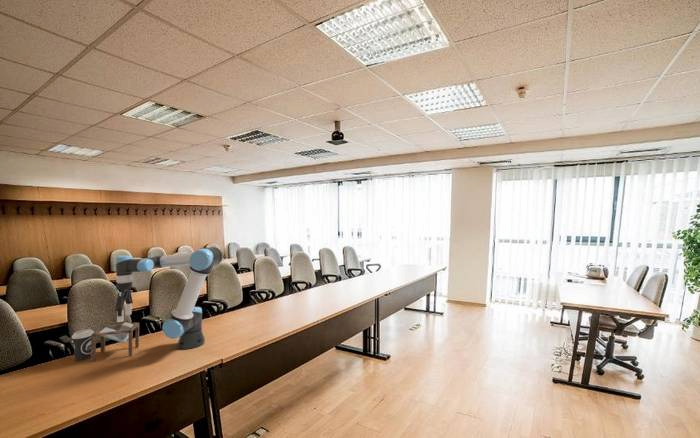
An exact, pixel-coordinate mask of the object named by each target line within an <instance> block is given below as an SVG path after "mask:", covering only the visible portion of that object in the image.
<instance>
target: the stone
mask: <svg viewBox="0 0 700 438" xmlns="http://www.w3.org/2000/svg"><path fill="white" fill-rule="evenodd" d="M132 326H133V324H130V322H126V321H125V322H123V323H122V326H121V327H119V329H118V331H121V330H130V329H131V327H132ZM128 335H129V333H120V334H116V337H119V338H123V339H125V338H126V337H127V336H128Z"/></svg>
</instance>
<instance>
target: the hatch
mask: <svg viewBox="0 0 700 438" xmlns="http://www.w3.org/2000/svg"><path fill="white" fill-rule="evenodd" d="M112 331H117V330H116V329H114V328H107V327H105V328H104V329H102V330H101V331H100V332H99V333H103V332H112ZM103 337H105V339H106V338H107V339H110V340H113V341H116V342H119V343H122V344H125V343H126V342H127V341H129V334H128V336H127V337H126V338H125V339H123V338H119V337H116V334H112V335H103Z"/></svg>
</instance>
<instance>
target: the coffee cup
mask: <svg viewBox="0 0 700 438" xmlns="http://www.w3.org/2000/svg"><path fill="white" fill-rule="evenodd" d="M94 332H95V331H93V329H91V328H89V329H88V328H87V329H81V330H78V331H76V332H73V334H72V336H71V339H72V344H73V355H74V361H75V362H82V361H86V360H88V359H91V335H92V334H93V333H94Z"/></svg>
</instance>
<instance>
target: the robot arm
mask: <svg viewBox="0 0 700 438" xmlns="http://www.w3.org/2000/svg"><path fill="white" fill-rule="evenodd" d="M223 258H224V255H223V251H222V250H221V249H220V248H218V247H214V246H213V247H212V246H211V247H206V248H199V249H196V250H195V251H193V252H192V251H191V252H184V253H183V252H182V253H175V254H168V255H167V254H166V255H155V256H152V257H145V258H144V257H143V258H133V256H132V255H119V256H117V257H116V258H115V259H116V261H115V271H116V272H115V277H114V278H115V281H116V282H115V283H116V284H115V287H116V291H119V292H117V297H116V305H115V308H114V309H115V310H114V311H116V322H117V323H121V322H123V323H124V312H125V316H130V315H132V304H133V303H134V302H133V297H132V296H133V295H132V292H131V291H132V290H131V289H132V288H133V282H132V281H133V273H139V272H140V273H147V272H151V271H152V270H155V269H163V268H171V267H172V268H173V267H182V266H190V267H189V270H190V274H189V275H188V276H189V277H188V279H187V280H186V281H187V282H186V283H185V286H184V289H183V291H182V294H181V296H180V299H179V301H178V304H177V306H176V308H175V309H173V310H172V311H171V313H170V316H169V318H168V319H166V320H165V321H164V322H163V324H162V329H161V330H162V332H163V334H164V336H166V338H169V339H173V340H175V339H178V341H177V348H178V349H181V350H189V349H190V350H191V349H196V348H199V347H201V346H203V345H204V344H206V343H205V342H206V338H205V335H204V331H203V309H202V307H200V306H196V304H197V301H198V298H199V295H200V294H201V291H202V288H203V285H204V283H205V281H206V278H207V276H209V275H211V273H212V271H213V268H214V267H215V266H218V265H220V264H221V262H222V261H223ZM124 305H125V308H124ZM124 309H125V311H124Z"/></svg>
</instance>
